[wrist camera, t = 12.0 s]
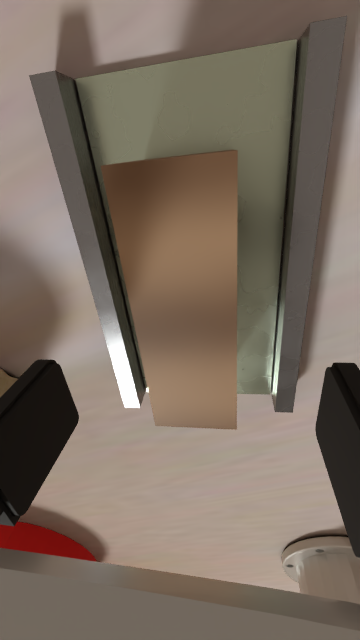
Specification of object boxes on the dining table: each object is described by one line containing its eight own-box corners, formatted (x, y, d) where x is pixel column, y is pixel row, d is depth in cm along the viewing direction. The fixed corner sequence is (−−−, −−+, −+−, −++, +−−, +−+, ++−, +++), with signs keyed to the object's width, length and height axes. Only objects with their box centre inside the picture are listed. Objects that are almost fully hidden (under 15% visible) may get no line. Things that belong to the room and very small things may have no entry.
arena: (329, 35, 12) (346, 16, 10) (287, 391, 22) (292, 412, 20) (53, 84, 14) (29, 75, 12) (132, 388, 24) (125, 407, 22)
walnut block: (233, 359, 20) (236, 429, 15) (172, 358, 21) (155, 425, 16) (232, 149, 14) (237, 149, 9) (143, 159, 15) (100, 165, 9)
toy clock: (46, 575, 34) (102, 628, 44) (68, 521, 39) (114, 579, 49) (-80, 562, 39) (-4, 613, 49) (-46, 515, 44) (17, 570, 54)
